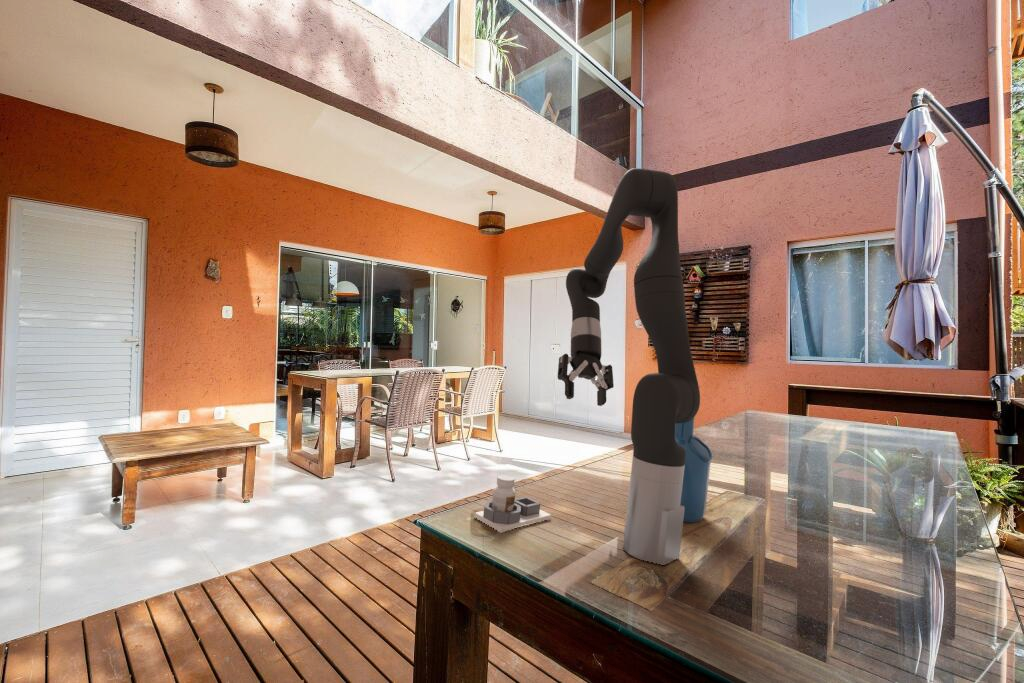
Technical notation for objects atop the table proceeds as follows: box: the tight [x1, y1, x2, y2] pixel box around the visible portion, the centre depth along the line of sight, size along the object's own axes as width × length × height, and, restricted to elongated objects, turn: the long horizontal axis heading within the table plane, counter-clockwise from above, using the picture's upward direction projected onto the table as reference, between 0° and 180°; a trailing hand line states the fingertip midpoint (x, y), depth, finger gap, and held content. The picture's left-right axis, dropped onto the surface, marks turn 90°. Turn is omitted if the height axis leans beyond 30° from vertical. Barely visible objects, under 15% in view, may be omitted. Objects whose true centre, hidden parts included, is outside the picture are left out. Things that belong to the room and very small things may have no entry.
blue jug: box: [675, 417, 713, 523], centre depth 107 cm, size 14×13×30 cm
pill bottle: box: [491, 474, 516, 512], centre depth 90 cm, size 4×4×8 cm
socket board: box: [474, 496, 552, 534], centre depth 92 cm, size 8×14×3 cm, turn 133°
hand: (585, 401), depth 105 cm, fingers open, 8 cm apart
